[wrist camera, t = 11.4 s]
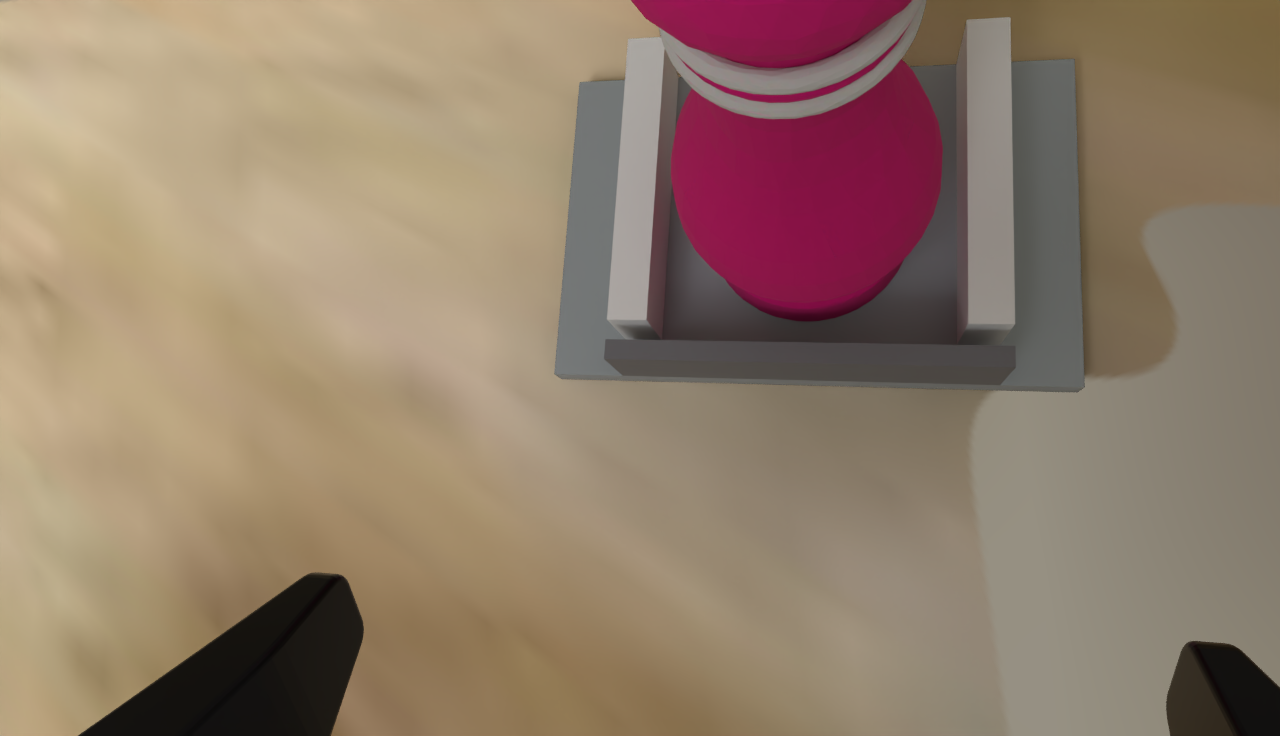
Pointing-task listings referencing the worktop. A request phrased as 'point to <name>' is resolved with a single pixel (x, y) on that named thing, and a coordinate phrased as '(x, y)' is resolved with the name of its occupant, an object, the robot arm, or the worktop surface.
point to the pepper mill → (801, 146)
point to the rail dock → (903, 311)
